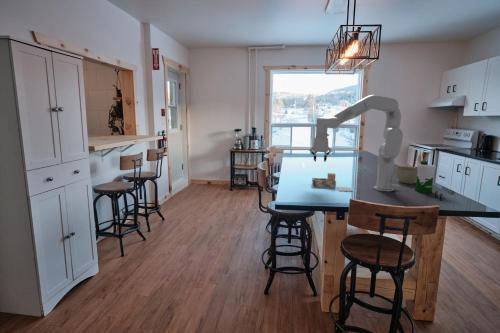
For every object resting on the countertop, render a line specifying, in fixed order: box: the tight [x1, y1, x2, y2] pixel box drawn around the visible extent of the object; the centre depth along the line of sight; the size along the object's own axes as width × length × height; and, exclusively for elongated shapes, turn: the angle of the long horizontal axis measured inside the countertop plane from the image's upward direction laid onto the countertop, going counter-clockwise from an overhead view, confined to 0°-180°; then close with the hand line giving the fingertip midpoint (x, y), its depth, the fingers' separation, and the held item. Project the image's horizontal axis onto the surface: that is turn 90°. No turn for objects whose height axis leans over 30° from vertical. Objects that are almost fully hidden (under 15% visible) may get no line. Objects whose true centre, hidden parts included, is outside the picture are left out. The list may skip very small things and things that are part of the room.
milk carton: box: [414, 160, 437, 194], centre depth 193 cm, size 9×9×20 cm
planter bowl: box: [395, 165, 418, 184], centre depth 219 cm, size 16×16×11 cm
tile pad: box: [336, 186, 354, 193], centre depth 197 cm, size 9×9×1 cm
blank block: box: [326, 172, 336, 181], centre depth 205 cm, size 4×4×9 cm
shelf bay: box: [311, 177, 337, 189], centre depth 206 cm, size 15×8×4 cm, turn 84°
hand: (319, 161), depth 204 cm, fingers open, 5 cm apart
